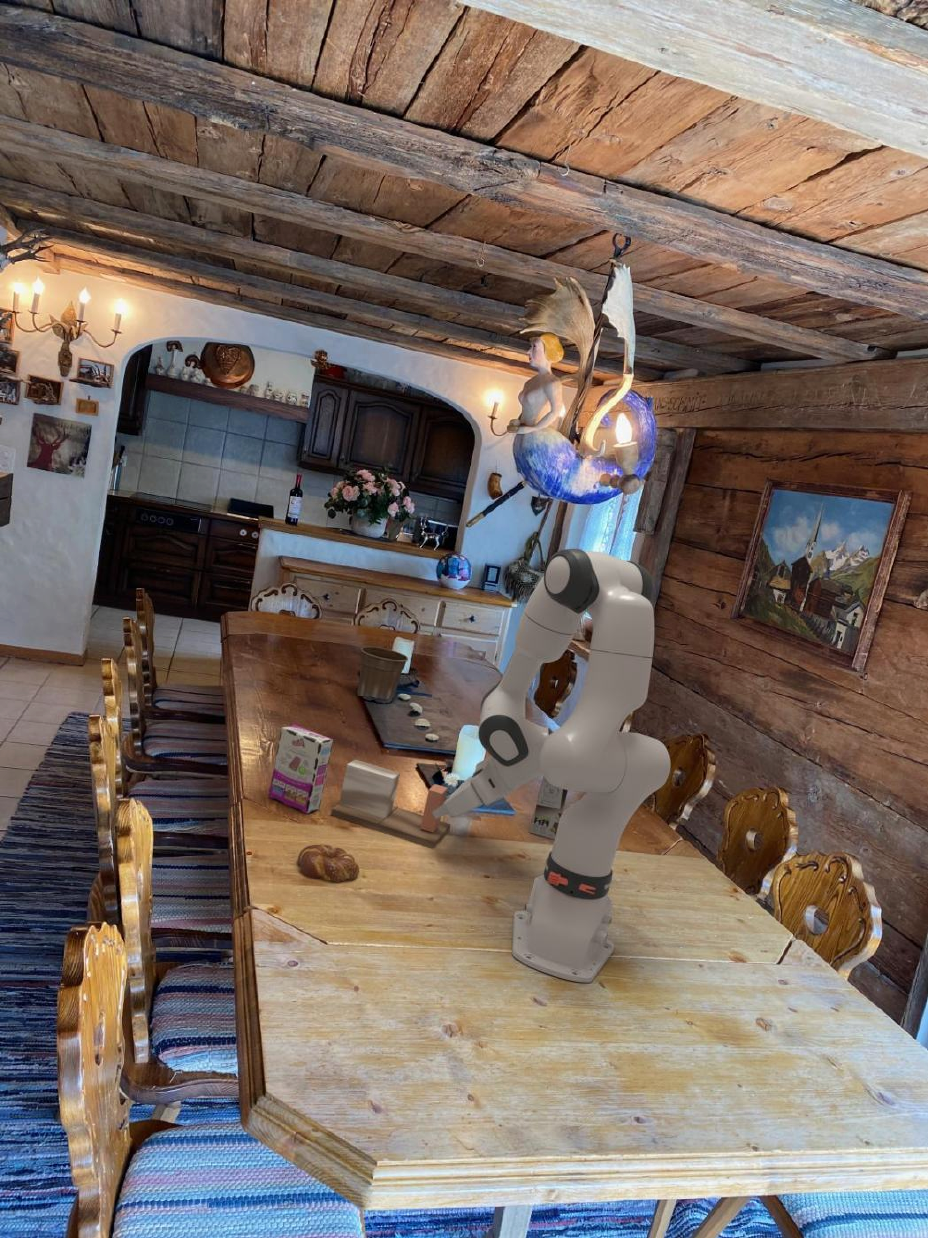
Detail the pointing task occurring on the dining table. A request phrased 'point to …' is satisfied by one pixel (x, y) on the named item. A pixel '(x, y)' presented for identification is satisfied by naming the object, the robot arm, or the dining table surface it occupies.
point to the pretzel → (328, 863)
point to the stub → (433, 807)
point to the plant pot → (380, 672)
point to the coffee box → (548, 810)
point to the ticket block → (381, 805)
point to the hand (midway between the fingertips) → (441, 808)
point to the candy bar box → (300, 768)
